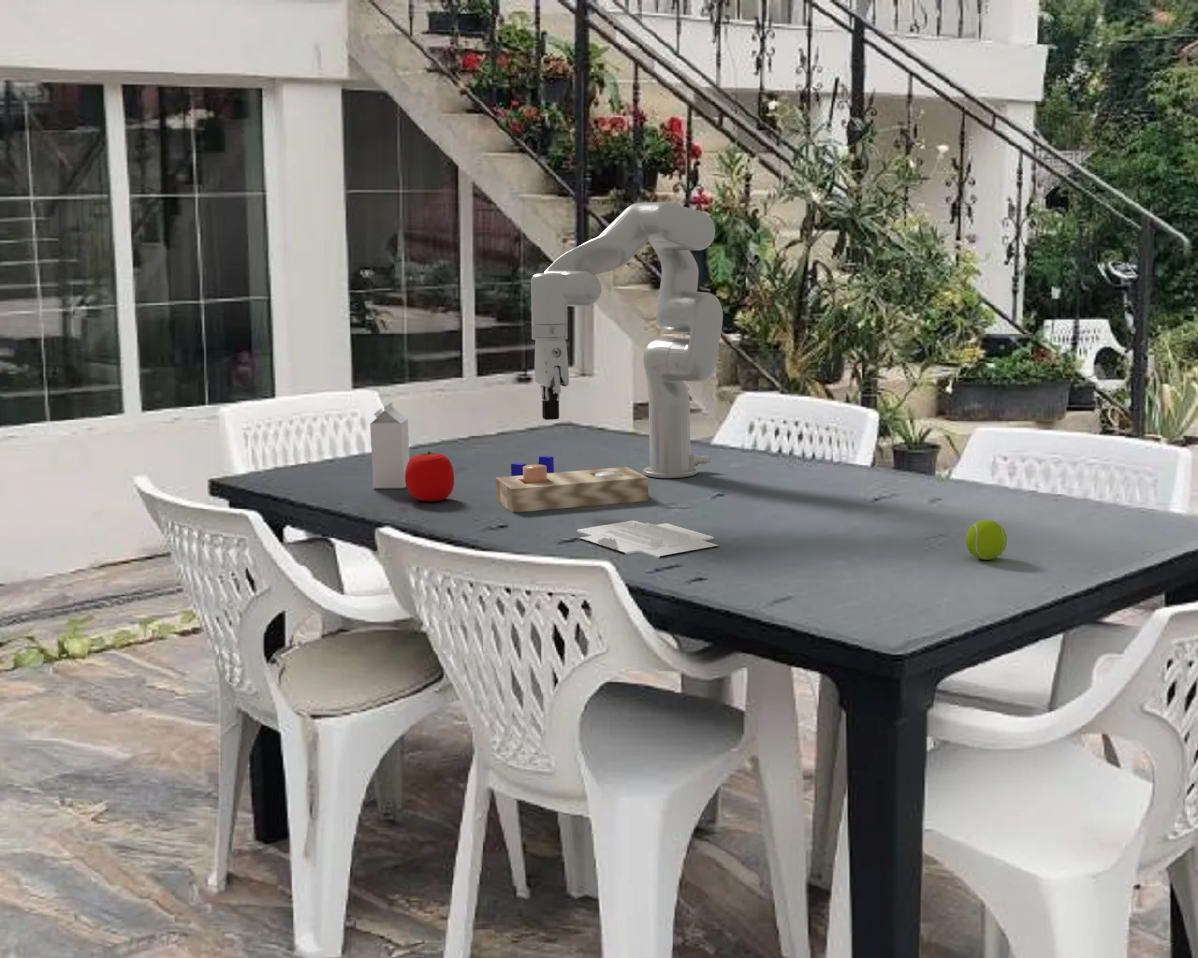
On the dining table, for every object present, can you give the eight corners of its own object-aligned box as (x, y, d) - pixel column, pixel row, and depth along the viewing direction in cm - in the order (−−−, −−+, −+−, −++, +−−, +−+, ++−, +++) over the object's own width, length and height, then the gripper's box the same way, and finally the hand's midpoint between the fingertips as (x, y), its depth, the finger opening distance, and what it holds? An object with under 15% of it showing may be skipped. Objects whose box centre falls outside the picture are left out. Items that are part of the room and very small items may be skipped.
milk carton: (410, 483, 351) (407, 401, 348) (404, 489, 345) (399, 405, 341) (380, 483, 352) (376, 401, 349) (373, 489, 345) (368, 406, 342)
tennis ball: (999, 554, 271) (1000, 515, 270) (1011, 563, 264) (1012, 524, 263) (960, 555, 271) (961, 516, 270) (971, 564, 264) (972, 525, 263)
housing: (627, 489, 338) (626, 466, 337) (648, 500, 325) (648, 477, 324) (496, 500, 329) (495, 477, 328) (512, 512, 316) (511, 489, 315)
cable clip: (538, 480, 352) (537, 455, 350) (554, 482, 349) (553, 456, 348) (506, 489, 342) (505, 463, 341) (522, 491, 339) (521, 464, 338)
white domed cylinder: (614, 492, 333) (613, 471, 332) (621, 496, 328) (621, 475, 327) (592, 494, 331) (592, 473, 330) (599, 498, 326) (599, 476, 325)
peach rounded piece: (543, 485, 327) (542, 463, 326) (549, 489, 323) (549, 467, 322) (521, 487, 326) (520, 465, 325) (527, 491, 321) (526, 469, 320)
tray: (647, 522, 306) (647, 504, 306) (734, 552, 284) (734, 533, 283) (561, 537, 295) (561, 518, 295) (644, 570, 273) (644, 550, 272)
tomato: (447, 505, 325) (445, 456, 323) (400, 504, 327) (397, 455, 325) (461, 496, 335) (459, 447, 333) (415, 495, 337) (413, 447, 335)
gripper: (577, 334, 313) (578, 422, 316) (556, 329, 327) (557, 414, 330) (542, 335, 311) (544, 424, 314) (522, 330, 325) (523, 415, 328)
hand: (550, 418), depth 322 cm, fingers closed
